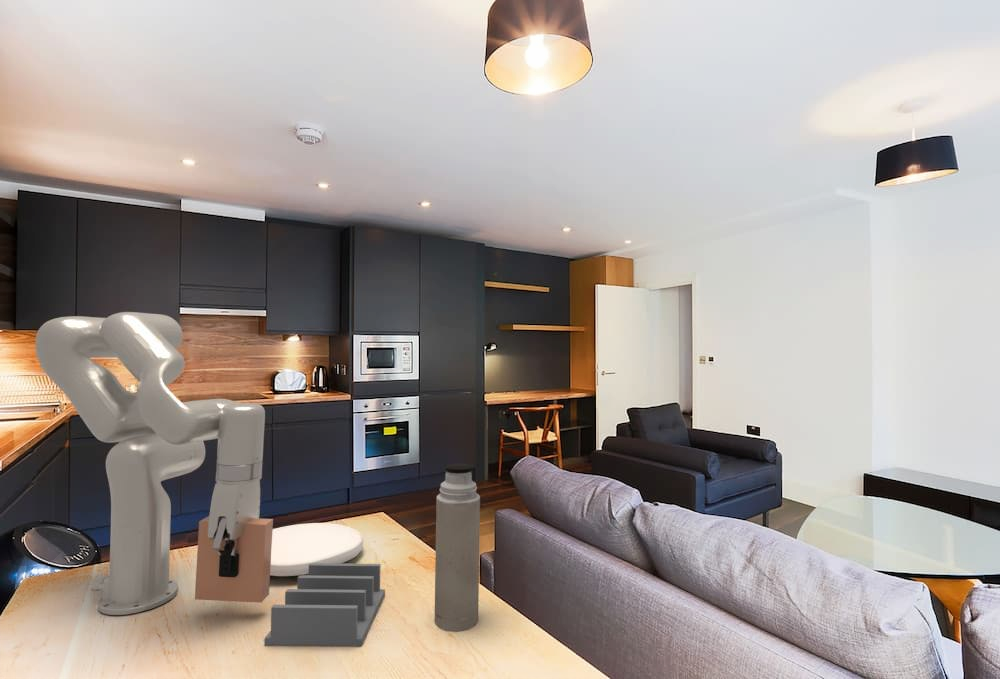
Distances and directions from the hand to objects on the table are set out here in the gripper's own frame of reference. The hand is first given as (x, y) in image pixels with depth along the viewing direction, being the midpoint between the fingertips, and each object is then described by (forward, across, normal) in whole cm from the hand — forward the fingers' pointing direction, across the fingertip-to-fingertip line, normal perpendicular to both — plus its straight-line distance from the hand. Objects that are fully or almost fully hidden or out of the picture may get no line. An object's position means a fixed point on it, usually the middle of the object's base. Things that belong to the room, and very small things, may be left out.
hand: (233, 570), depth 93 cm
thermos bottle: (+7, 0, +41) cm, 42 cm away
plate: (+9, -26, +3) cm, 27 cm away
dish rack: (+8, 0, +18) cm, 20 cm away
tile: (+5, 0, 0) cm, 5 cm away
